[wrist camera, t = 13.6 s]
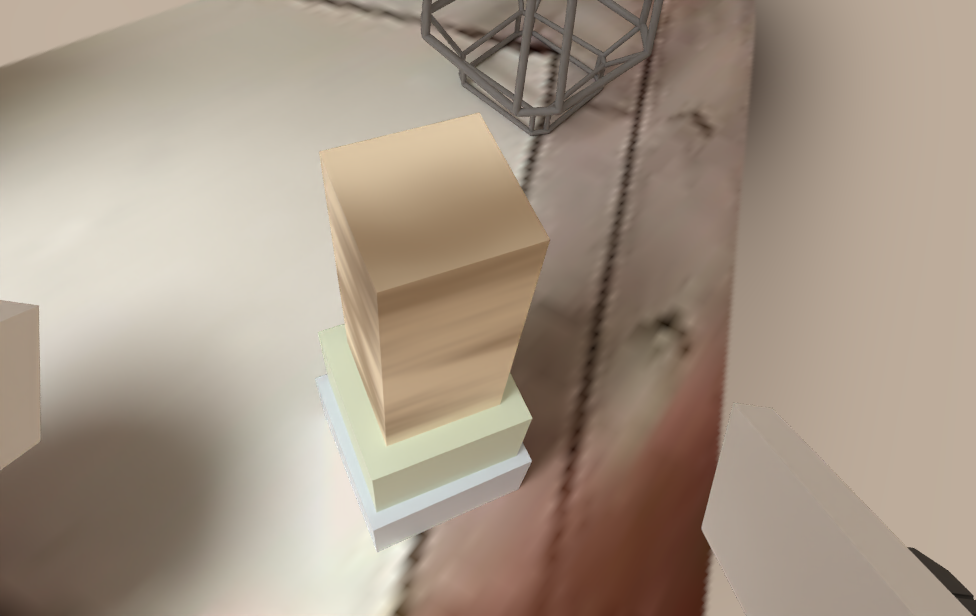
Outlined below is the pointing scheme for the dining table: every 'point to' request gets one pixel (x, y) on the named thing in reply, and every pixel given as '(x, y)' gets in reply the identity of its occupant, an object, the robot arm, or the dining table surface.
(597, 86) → the geometric lantern
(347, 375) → the tower top
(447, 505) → the tower base
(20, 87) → the dining table surface
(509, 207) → the pillar
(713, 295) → the dining table surface
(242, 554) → the dining table surface
